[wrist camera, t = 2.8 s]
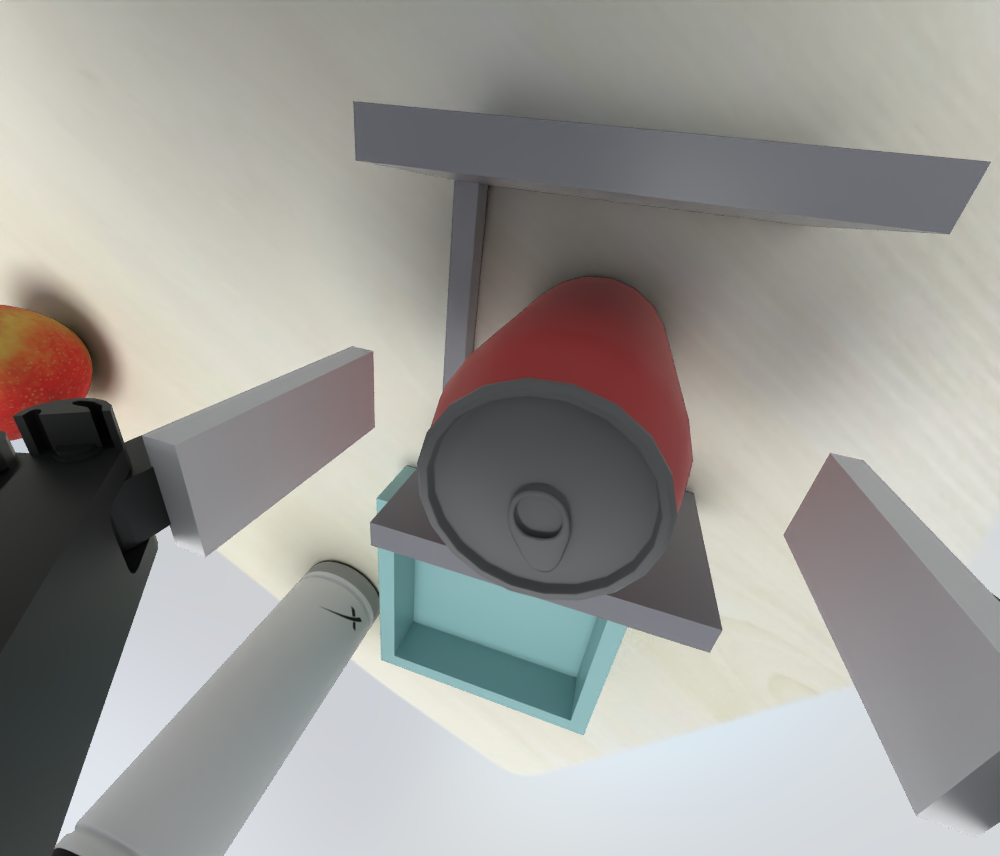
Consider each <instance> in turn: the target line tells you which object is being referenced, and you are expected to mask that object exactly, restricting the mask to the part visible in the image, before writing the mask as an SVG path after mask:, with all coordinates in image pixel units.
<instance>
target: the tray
mask: <svg viewBox="0 0 1000 856" xmlns="http://www.w3.org/2000/svg"><path fill="white" fill-rule="evenodd" d="M416 469H417V468H413V467H410V466H406V467H405V468H404V469H403V470H402V471H401V472H400V473H399V474H398V476H397V477H396V478H395V479H394V480H393V481H392V482H391V483H390V484H389V485H388V486H387V488H386V489H385V490H384V491H383V492H382V493H381V494H380V495H379V496H378V497H377V514H378V513H379V512H380V510H381V509H382V508H383V507H384V506H385V505H386V503H387V502H388V501H389V500H390V499H391V498H392V497H393V495H394V494H395V493H396V492H397V491H398V490H399V488H400V487H401V486H402V485H403V484H404V483H405V482H406V480H407V479H408V478H409V477H410V476H411V475H412V473H413V472H414V471H415V470H416ZM378 565H379V600H380V634H381V660H383V661H386V662H388V663H391V664H394V665H396V666H399V667H402V668H404V669H407V670H410V671H412V672H415V673H418V674H420V675H423V676H426V677H429V678H431V679H434V680H437V681H439V682H442V683H445V684H447V685H450V686H453V687H455V688H458V689H461V690H463V691H466V692H469V693H471V694H474V695H477V696H479V697H482V698H485V699H487V700H490V701H493V702H495V703H498V704H501V705H504V706H506V707H509V708H512V709H514V710H517V711H520V712H522V713H525V714H528V715H530V716H533V717H536V718H538V719H541V720H544V721H546V722H549V723H552V724H554V725H557V726H560V727H562V728H565V729H568V730H571V731H573V732H576V733H579V734H581V735H584V733H585V730H586V728H587V725H588V723H589V720H590V718H591V715H592V713H593V710H594V708H595V705H596V703H597V700H598V698H599V696H600V693H601V691H602V688H603V686H604V683H605V681H606V678H607V676H608V673H609V671H610V668H611V666H612V663H613V661H614V658H615V656H616V653H617V651H618V648H619V646H620V643H621V641H622V638H623V636H624V634H625V631H626V629H627V626H624V625H621V624H618V623H614V622H611V621H608V620H605V619H602V618H599V617H596V616H592V615H589V614H586V613H583V612H580V611H577V610H574V609H570V608H567V607H564V606H561V605H558V604H555V603H551V602H548V601H545V600H542V599H539V598H536V597H532V596H528V595H524V594H520V593H517V592H513V591H509V590H507V589H505V588H503V587H501V586H498V585H495V584H492V583H488V582H485V581H482V580H479V579H476V578H473V577H470V576H466V575H463V574H460V573H457V572H454V571H451V570H448V569H444V568H441V567H438V566H435V565H432V564H429V563H425V562H422V561H419V560H416V559H413V558H410V557H407V556H403V555H400V554H397V553H394V552H391V551H388V550H385V549H381V548H378Z"/></svg>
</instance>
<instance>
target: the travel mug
mask: <svg viewBox="0 0 1000 856" xmlns="http://www.w3.org/2000/svg"><path fill="white" fill-rule="evenodd" d="M379 612H380V600H379V597H378V594H377V592H376V591H375V589H374V587H373V586H372V585H371V583H370V582H369V581H368V580H367V579H366V578H365V577H364V576H363V575H361V574H360V573H359V572H357V571H356V570H354V569H352V568H351V567H348V566H346V565H343V564H340V563H336V562H322V563H319V564H316V565H314V566H313V567H312V568H311V569H310V570H309V571H308V572H307V573H306V574H305V575H304V577H303V578H302V579H301V580H300V581H299V583H297V584H296V585H295V586H294V587H293V589H292V590H291V591H290V592H289V593H288V594H287V595H286V596H285V597H284V598H283V599H282V600H281V602H280V603H279V604H278V605H277V606H276V607H275V608H274V609H273V610H272V611H271V613H270V614H269V615H268V616H267V617H266V618H265V619H264V620H263V621H262V622H261V623H260V624H259V626H258V627H257V628H256V629H255V630H254V631H253V632H252V633H251V634H250V635H249V636H248V637H247V639H246V640H245V641H244V642H243V643H242V644H241V645H240V646H239V647H238V648H237V649H236V650H235V652H234V653H233V654H232V655H231V656H230V657H229V658H228V659H227V660H226V661H225V663H224V664H223V665H222V666H221V667H220V668H219V669H218V670H217V671H216V672H215V673H214V674H213V675H212V677H211V678H210V679H209V680H208V681H207V682H206V683H205V684H204V685H203V686H202V687H201V689H200V690H199V691H198V692H197V693H196V694H195V695H194V696H193V697H192V698H191V699H190V701H189V702H188V703H187V704H186V705H185V706H184V707H183V708H182V709H181V710H180V711H179V712H178V714H177V715H176V716H175V717H174V718H173V719H172V720H171V721H170V722H169V723H168V725H166V727H165V728H164V729H163V730H162V731H161V732H160V733H159V734H158V735H157V736H156V737H155V739H154V740H153V741H152V742H151V743H150V744H149V745H148V746H147V747H146V748H145V749H144V750H143V752H142V753H141V754H140V755H139V756H138V757H137V758H136V759H135V760H134V761H133V762H132V764H131V765H130V766H129V767H128V768H127V769H126V770H125V771H124V772H123V773H122V774H121V775H120V777H119V778H118V779H117V780H116V781H115V782H114V783H113V784H112V785H111V786H110V787H109V789H108V790H107V791H106V792H105V793H104V794H103V795H102V796H101V797H100V798H99V799H98V800H97V802H96V803H95V804H94V805H93V806H92V807H91V808H90V809H89V810H88V811H87V812H86V813H85V815H84V816H83V817H82V818H81V819H80V820H79V821H78V822H77V824H76V827H75V831H73V832H72V833H70V834H67V835H66V836H64V837H63V838H62V840H61V841H60V842H59V843H58V844H57V845H56V846H55V848H54V851H53V854H52V856H224V854H225V852H226V851H227V849H228V848H229V846H230V844H231V843H232V842H233V840H234V839H235V837H236V835H237V834H238V832H239V831H240V829H241V828H242V826H243V825H244V823H245V821H246V820H247V818H248V817H249V815H250V814H251V812H252V811H253V809H254V807H255V806H256V804H257V803H258V801H259V800H260V798H261V796H262V795H263V793H264V792H265V790H266V789H267V787H268V786H269V784H270V783H271V781H272V780H273V778H274V776H275V775H276V773H277V772H278V770H279V769H280V767H281V766H282V764H283V762H284V761H285V759H286V758H287V756H288V754H289V753H290V752H291V750H292V748H293V747H294V745H295V744H296V742H297V741H298V739H299V738H300V736H301V734H302V733H303V731H304V730H305V728H306V727H307V725H308V723H309V722H310V720H311V719H312V717H313V716H314V714H315V713H316V711H317V709H318V708H319V707H320V705H321V703H322V702H323V700H324V699H325V697H326V696H327V694H328V692H329V691H330V689H331V688H332V686H333V685H334V683H335V682H336V680H337V679H338V677H339V675H340V674H341V672H342V671H343V669H344V668H345V666H346V665H347V663H348V661H349V660H350V658H351V657H352V655H353V654H354V652H355V651H356V649H357V647H358V646H359V644H360V643H361V641H362V640H363V638H364V637H365V635H366V633H367V631H368V630H369V629H370V627H371V626H372V624H373V623H374V621H375V620H376V618H377V616H378V614H379Z"/></svg>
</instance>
